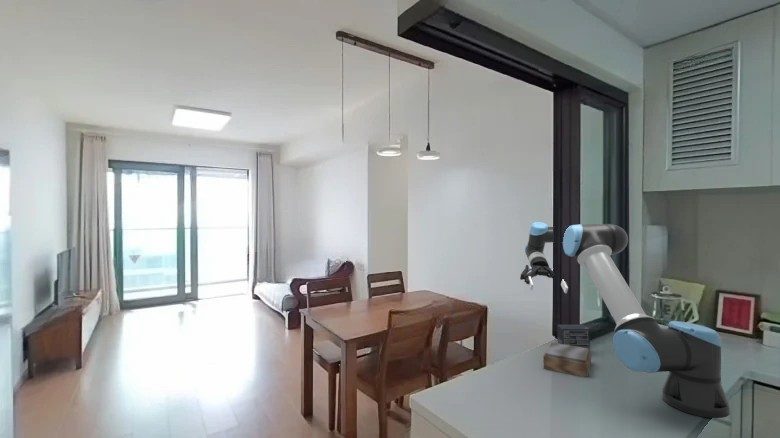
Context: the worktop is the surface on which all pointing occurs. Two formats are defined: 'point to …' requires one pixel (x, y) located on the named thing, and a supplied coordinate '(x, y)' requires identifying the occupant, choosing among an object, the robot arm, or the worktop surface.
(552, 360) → the base
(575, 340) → the small box
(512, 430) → the worktop surface
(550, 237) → the robot arm
